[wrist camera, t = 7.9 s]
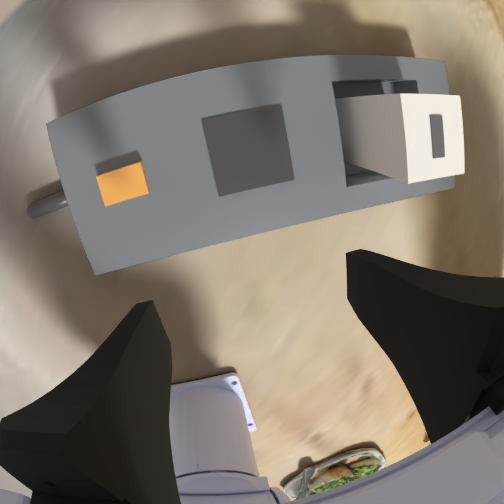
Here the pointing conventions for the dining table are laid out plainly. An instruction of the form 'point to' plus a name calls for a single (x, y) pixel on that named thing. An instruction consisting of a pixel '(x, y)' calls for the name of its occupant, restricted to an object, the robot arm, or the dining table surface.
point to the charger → (403, 135)
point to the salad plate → (334, 473)
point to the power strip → (224, 155)
